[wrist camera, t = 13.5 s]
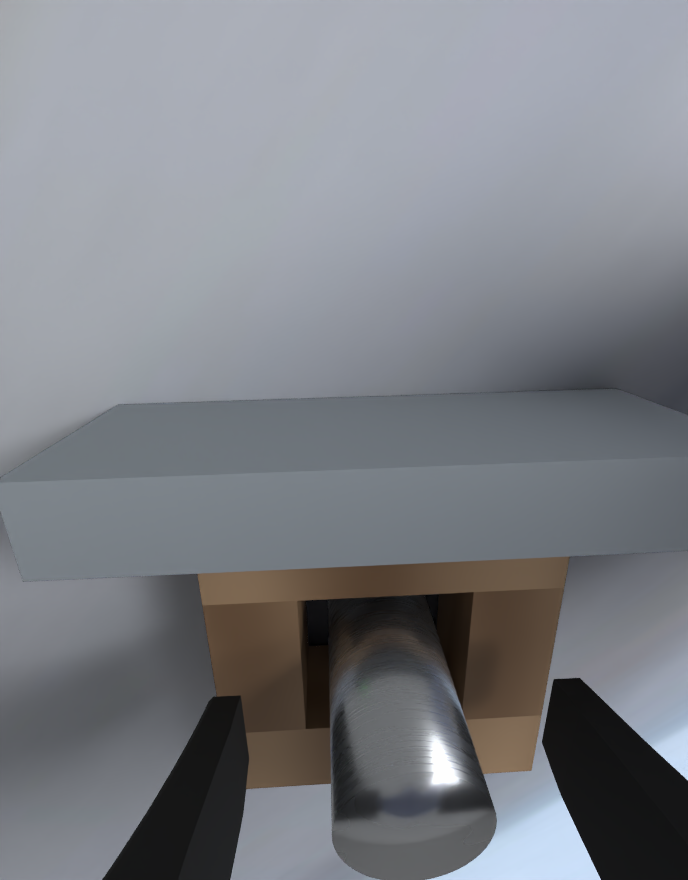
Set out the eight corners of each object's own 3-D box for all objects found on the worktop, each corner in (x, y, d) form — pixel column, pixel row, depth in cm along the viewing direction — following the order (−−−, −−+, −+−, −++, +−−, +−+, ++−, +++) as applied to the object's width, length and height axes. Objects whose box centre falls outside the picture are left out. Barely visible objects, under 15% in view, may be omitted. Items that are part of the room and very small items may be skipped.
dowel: (415, 538, 14) (496, 764, 8) (420, 614, 15) (496, 870, 9) (321, 550, 14) (321, 786, 8) (333, 625, 15) (342, 890, 9)
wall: (616, 388, 13) (789, 452, 8) (604, 453, 13) (756, 547, 9) (118, 404, 12) (-9, 483, 8) (131, 471, 13) (22, 581, 8)
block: (523, 458, 13) (578, 506, 10) (495, 685, 16) (531, 770, 13) (217, 469, 13) (189, 522, 10) (247, 699, 16) (231, 789, 13)
